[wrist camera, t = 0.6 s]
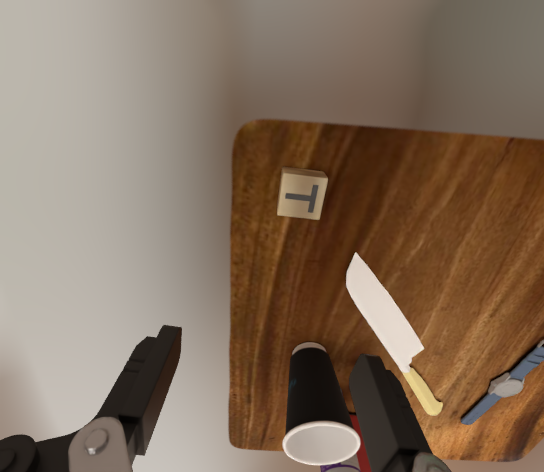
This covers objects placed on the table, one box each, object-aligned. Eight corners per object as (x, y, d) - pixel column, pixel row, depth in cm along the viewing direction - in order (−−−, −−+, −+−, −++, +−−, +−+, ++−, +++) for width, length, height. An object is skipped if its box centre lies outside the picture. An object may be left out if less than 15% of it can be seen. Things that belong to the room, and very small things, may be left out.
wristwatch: (564, 339, 35) (572, 346, 34) (473, 423, 43) (477, 429, 43) (537, 333, 34) (544, 339, 33) (450, 418, 43) (454, 425, 42)
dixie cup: (270, 345, 36) (268, 436, 26) (324, 326, 34) (344, 416, 24) (295, 379, 39) (302, 471, 29) (346, 362, 37) (371, 455, 27)
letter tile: (276, 205, 27) (276, 215, 24) (282, 166, 25) (282, 173, 23) (315, 210, 27) (319, 220, 24) (323, 171, 25) (328, 178, 23)
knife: (372, 245, 28) (333, 268, 29) (456, 409, 40) (428, 422, 41) (367, 241, 29) (330, 263, 30) (451, 401, 42) (423, 414, 42)
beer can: (354, 437, 46) (378, 538, 35) (320, 429, 45) (334, 531, 34) (374, 416, 43) (406, 520, 32) (337, 408, 42) (359, 512, 31)
